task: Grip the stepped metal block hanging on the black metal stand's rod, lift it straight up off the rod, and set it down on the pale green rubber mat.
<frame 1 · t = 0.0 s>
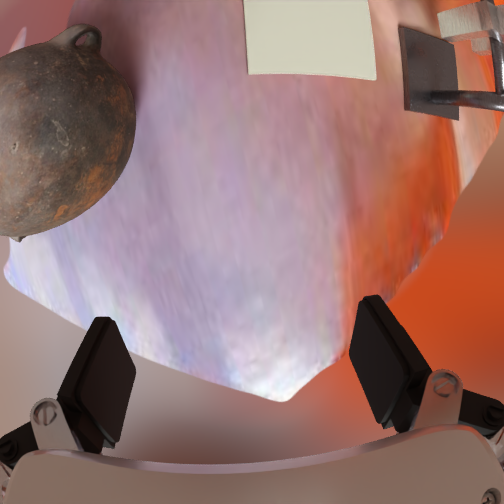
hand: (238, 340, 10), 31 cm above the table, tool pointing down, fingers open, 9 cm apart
mat: (310, 18, 29), on the table
stepped metal block: (460, 34, 21), point 9 cm above the table, touching stand
jug: (84, 129, 33), on the table
stand: (428, 63, 31), on the table
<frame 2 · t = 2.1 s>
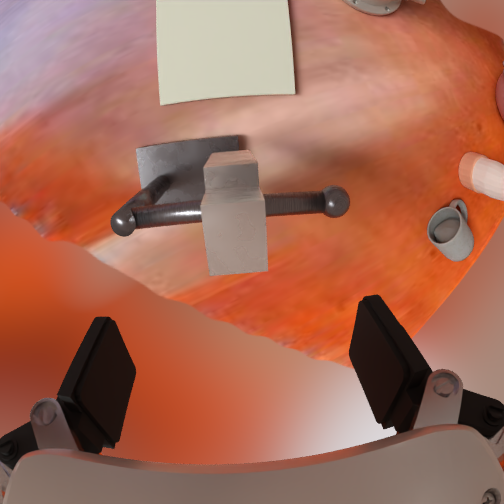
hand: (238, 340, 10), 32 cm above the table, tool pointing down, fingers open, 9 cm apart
mat: (223, 38, 30), on the table
stepped metal block: (233, 189, 31), point 9 cm above the table, touching stand
balloon: (496, 93, 33), on the table
salt shaker: (469, 169, 41), on the table
stand: (204, 176, 39), on the table
ceramic mug: (443, 221, 45), on the table
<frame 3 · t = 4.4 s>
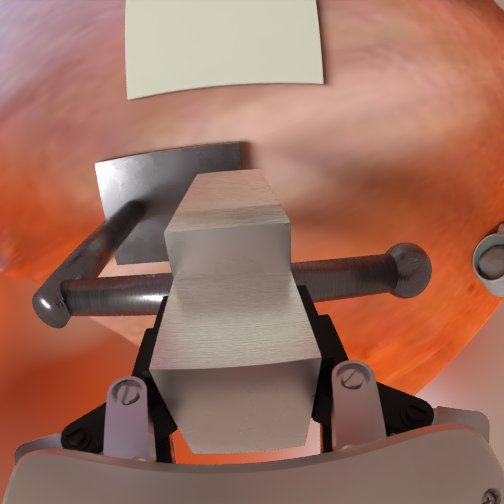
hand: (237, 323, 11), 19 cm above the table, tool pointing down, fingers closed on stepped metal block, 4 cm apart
mat: (219, 5, 19), on the table
stepped metal block: (233, 232, 20), point 9 cm above the table, touching gripper, stand
stand: (192, 201, 28), on the table
ceramic mug: (487, 248, 34), on the table
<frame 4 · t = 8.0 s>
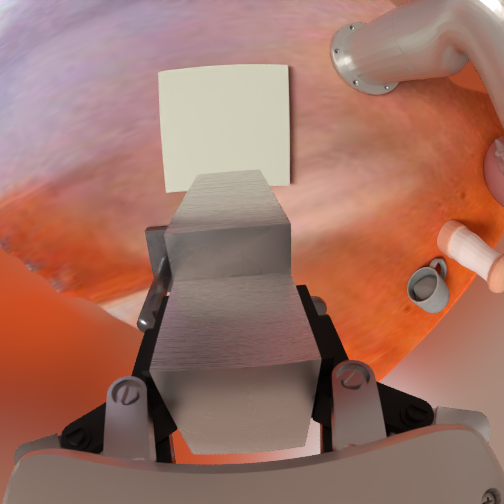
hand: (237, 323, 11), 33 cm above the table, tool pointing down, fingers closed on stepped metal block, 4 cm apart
mat: (224, 125, 38), on the table
stepped metal block: (233, 232, 20), point 23 cm above the table, touching gripper
balloon: (485, 158, 42), on the table
salt shaker: (448, 235, 49), on the table
stand: (206, 255, 46), on the table
ceramic mug: (423, 276, 53), on the table
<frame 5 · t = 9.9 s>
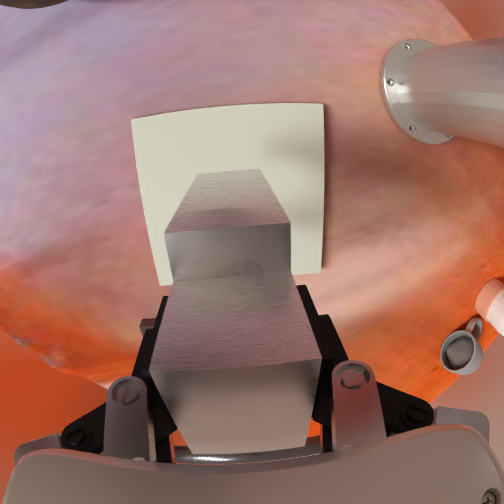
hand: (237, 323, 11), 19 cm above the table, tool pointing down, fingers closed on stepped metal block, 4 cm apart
mat: (233, 196, 28), on the table
stepped metal block: (233, 232, 20), point 10 cm above the table, touching gripper
salt shaker: (487, 294, 38), on the table
stand: (216, 347, 37), on the table
ceramic mug: (457, 336, 42), on the table
when the fingers open (12 cm above the table, at t = 11.6 s): stepped metal block drops 2 cm, resting on mat.
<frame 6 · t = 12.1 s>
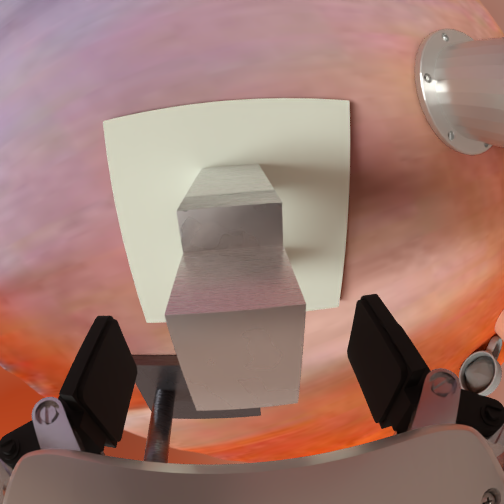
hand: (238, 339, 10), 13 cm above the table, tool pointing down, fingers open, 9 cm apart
mat: (233, 218, 22), on the table
stepped metal block: (234, 221, 21), point 1 cm above the table, touching mat
stand: (215, 385, 31), on the table
ceramic mug: (476, 355, 36), on the table
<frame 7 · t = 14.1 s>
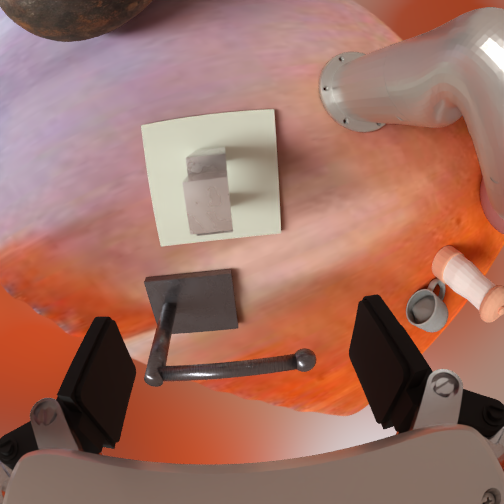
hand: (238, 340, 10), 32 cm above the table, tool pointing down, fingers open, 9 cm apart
mat: (213, 177, 39), on the table
stepped metal block: (213, 178, 38), point 1 cm above the table, touching mat
balloon: (482, 180, 43), on the table
salt shaker: (443, 260, 50), on the table, touching ceramic mug
stand: (204, 300, 47), on the table
ceramic mug: (422, 296, 53), on the table, touching salt shaker
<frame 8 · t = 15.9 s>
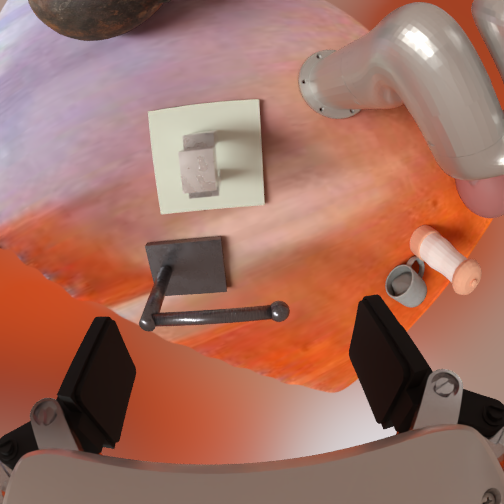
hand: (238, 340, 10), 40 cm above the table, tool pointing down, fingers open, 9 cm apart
mat: (207, 156, 45), on the table
stepped metal block: (207, 156, 44), point 1 cm above the table, touching mat
balloon: (458, 166, 48), on the table
salt shaker: (421, 239, 55), on the table
stand: (197, 265, 54), on the table
ceramic mug: (402, 273, 59), on the table
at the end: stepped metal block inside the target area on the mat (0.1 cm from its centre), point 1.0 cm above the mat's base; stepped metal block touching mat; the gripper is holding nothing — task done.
